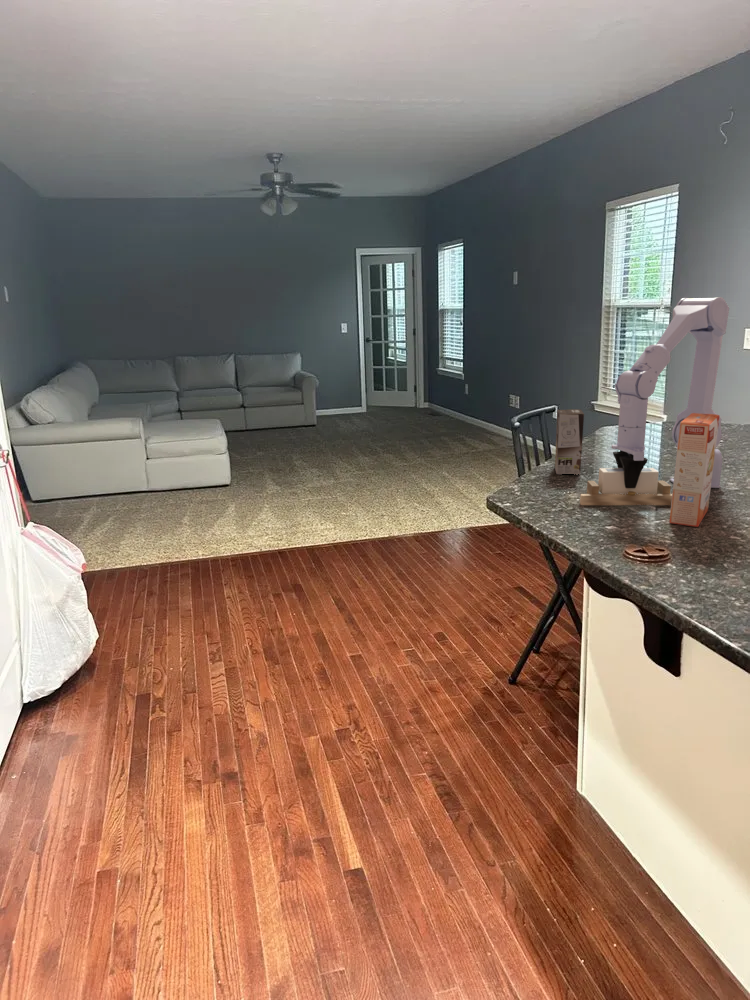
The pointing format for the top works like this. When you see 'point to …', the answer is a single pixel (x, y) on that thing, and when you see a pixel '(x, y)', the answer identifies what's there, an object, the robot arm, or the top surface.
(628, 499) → the ledge
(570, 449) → the coffee box
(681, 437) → the cracker box
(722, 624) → the top surface
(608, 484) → the cream block
